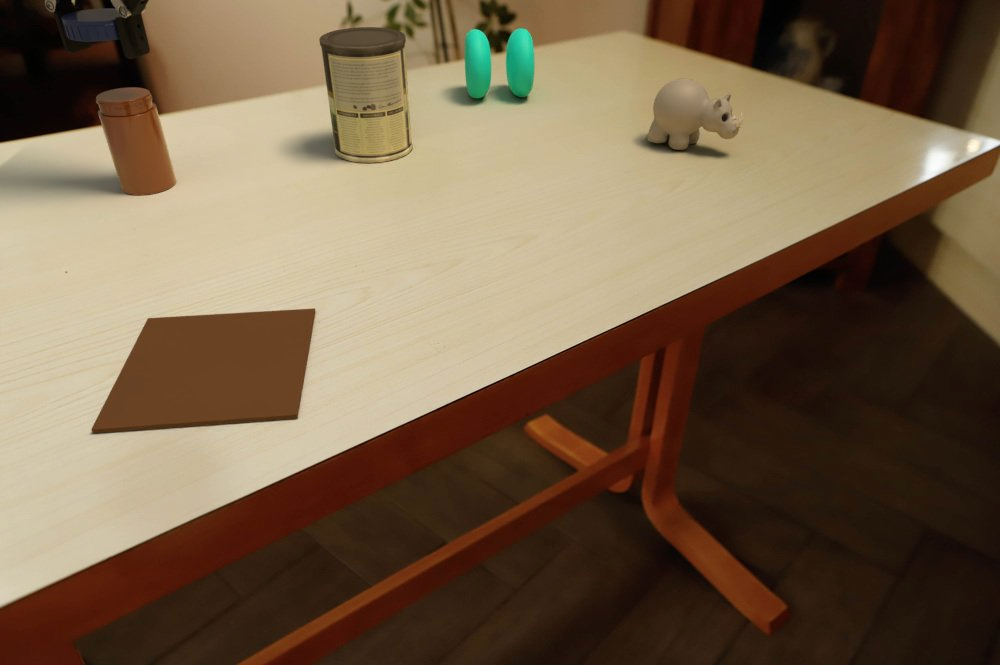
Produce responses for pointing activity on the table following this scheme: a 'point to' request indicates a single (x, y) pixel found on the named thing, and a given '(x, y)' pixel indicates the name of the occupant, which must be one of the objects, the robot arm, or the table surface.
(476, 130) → the table surface
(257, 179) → the table surface
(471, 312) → the table surface
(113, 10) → the jar lid
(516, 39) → the donuts
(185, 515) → the table surface
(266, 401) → the cork mat
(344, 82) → the coffee can
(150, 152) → the jam jar
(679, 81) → the toy rhinoceros
